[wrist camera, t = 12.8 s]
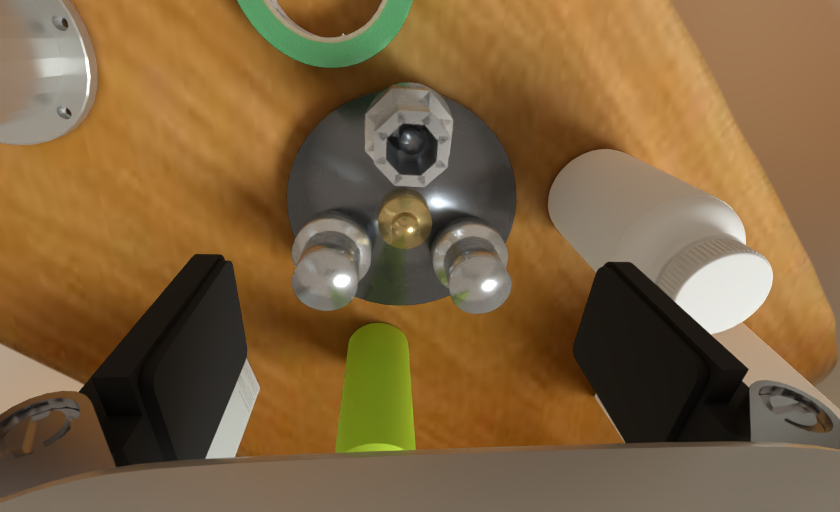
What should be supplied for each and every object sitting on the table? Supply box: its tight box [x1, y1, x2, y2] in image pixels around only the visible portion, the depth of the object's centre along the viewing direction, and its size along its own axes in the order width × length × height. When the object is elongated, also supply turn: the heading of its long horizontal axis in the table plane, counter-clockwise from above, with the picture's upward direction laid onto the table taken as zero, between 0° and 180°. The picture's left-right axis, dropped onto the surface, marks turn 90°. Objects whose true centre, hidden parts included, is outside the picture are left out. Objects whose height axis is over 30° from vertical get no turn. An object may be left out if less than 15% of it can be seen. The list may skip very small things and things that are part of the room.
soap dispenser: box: [335, 323, 416, 453], centre depth 31 cm, size 6×7×20 cm
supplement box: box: [205, 358, 260, 459], centre depth 34 cm, size 7×7×13 cm
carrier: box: [287, 82, 516, 314], centre depth 30 cm, size 18×18×7 cm
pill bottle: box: [548, 149, 773, 334], centre depth 27 cm, size 8×8×15 cm
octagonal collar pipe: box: [365, 85, 453, 187], centre depth 26 cm, size 6×6×6 cm
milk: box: [594, 322, 840, 442], centre depth 32 cm, size 12×12×26 cm
